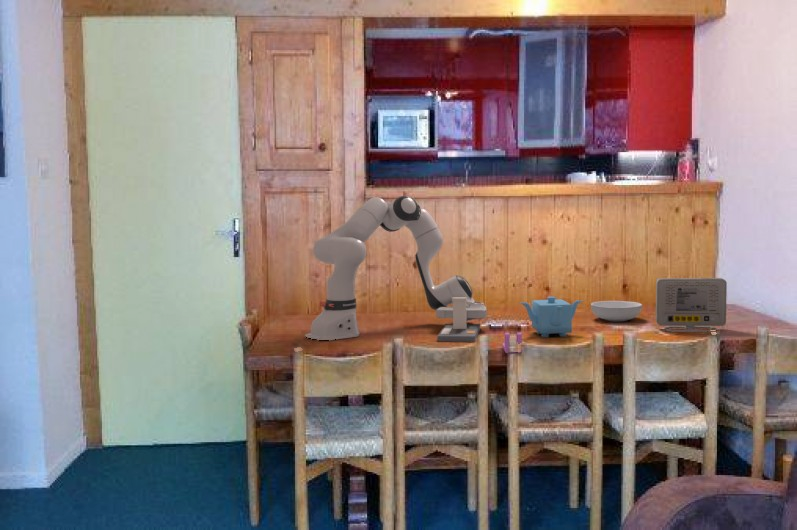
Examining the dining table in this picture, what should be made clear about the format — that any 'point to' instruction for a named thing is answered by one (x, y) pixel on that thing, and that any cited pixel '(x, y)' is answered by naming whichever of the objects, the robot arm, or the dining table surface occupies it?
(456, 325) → the switch tab
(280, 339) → the dining table surface
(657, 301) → the network device
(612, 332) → the dining table surface
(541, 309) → the teakettle
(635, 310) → the serving bowl
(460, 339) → the switch panel
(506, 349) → the bracket
